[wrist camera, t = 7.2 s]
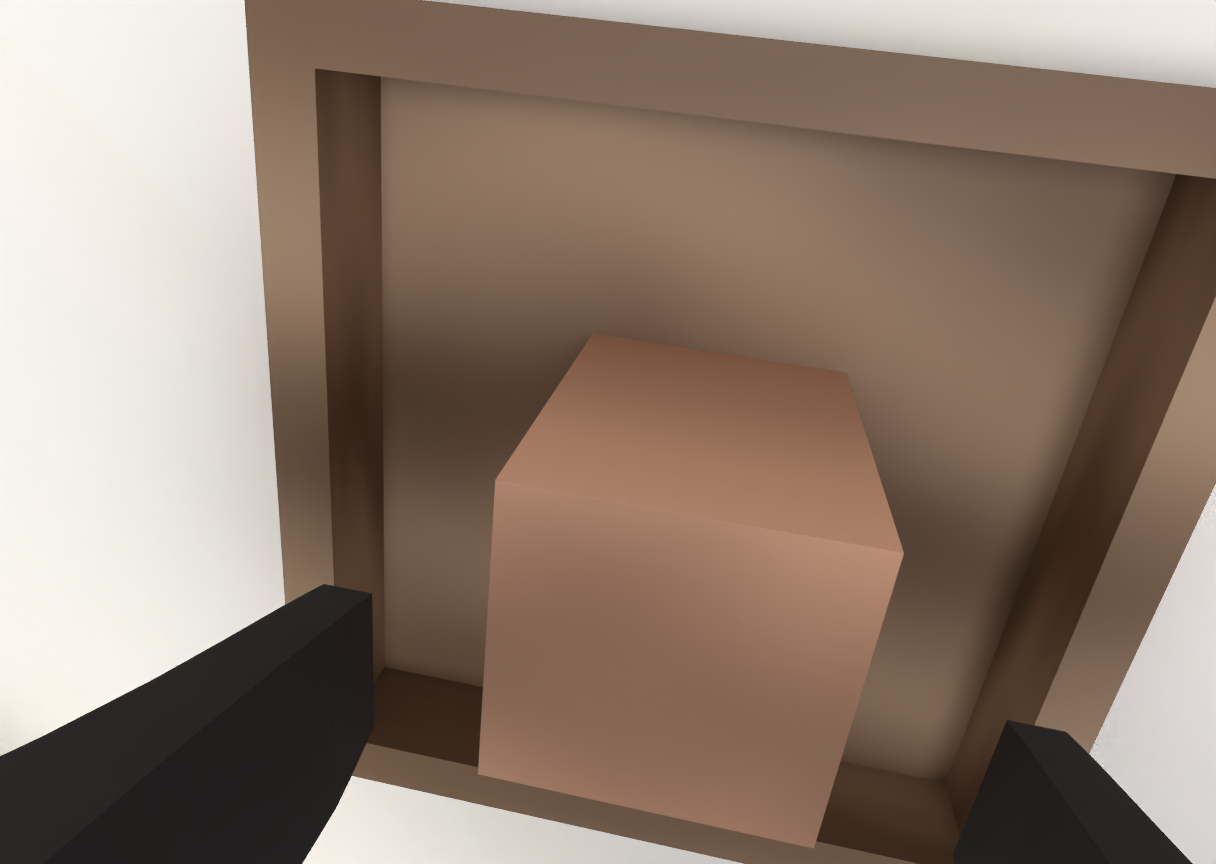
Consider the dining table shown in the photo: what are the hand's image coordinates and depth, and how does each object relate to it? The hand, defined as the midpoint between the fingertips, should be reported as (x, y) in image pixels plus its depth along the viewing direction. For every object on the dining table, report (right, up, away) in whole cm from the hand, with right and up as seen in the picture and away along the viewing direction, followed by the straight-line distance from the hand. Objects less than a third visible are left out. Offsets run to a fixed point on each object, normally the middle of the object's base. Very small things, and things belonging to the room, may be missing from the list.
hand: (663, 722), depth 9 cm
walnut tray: (+1, +3, +7) cm, 7 cm away
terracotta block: (+1, +3, +6) cm, 7 cm away
